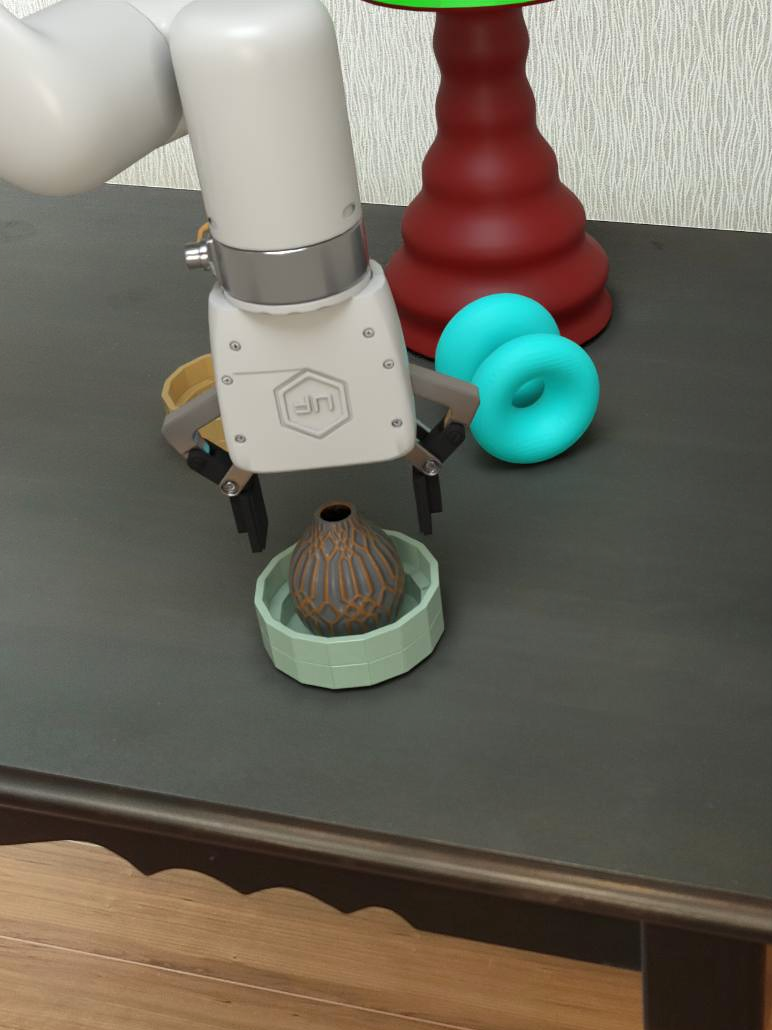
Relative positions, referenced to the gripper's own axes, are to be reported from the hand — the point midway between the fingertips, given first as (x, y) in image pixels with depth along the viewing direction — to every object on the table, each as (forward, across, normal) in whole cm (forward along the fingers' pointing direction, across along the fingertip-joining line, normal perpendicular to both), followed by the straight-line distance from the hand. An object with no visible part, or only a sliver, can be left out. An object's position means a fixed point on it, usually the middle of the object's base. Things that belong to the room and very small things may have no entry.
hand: (343, 529), depth 75 cm
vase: (+8, 0, 0) cm, 8 cm away
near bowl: (+8, 0, 0) cm, 8 cm away
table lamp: (+8, +12, +41) cm, 44 cm away
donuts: (+8, +12, +21) cm, 25 cm away
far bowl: (+8, -9, +26) cm, 29 cm away
